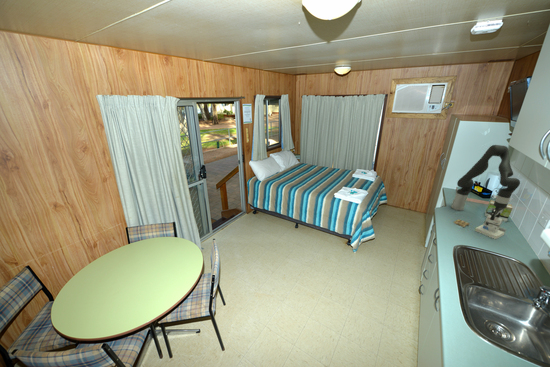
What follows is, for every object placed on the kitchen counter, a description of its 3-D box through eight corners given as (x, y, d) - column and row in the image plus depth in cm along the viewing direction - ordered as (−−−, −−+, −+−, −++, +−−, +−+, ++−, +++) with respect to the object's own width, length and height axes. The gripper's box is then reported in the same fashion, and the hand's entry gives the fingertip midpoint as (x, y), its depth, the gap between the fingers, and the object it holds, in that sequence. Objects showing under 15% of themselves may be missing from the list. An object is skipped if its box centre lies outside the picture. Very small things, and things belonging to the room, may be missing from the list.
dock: (474, 230, 187) (476, 225, 185) (483, 226, 192) (485, 221, 190) (495, 239, 175) (497, 233, 173) (503, 234, 181) (506, 229, 179)
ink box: (482, 228, 185) (486, 216, 181) (485, 226, 187) (489, 214, 183) (495, 233, 178) (500, 220, 174) (497, 231, 180) (503, 219, 176)
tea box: (484, 216, 208) (490, 203, 203) (484, 212, 215) (490, 199, 209) (506, 222, 198) (512, 208, 193) (506, 218, 205) (512, 204, 200)
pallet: (453, 223, 199) (454, 221, 198) (458, 220, 202) (459, 219, 201) (463, 227, 192) (464, 225, 191) (468, 225, 195) (469, 223, 194)
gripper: (500, 197, 179) (492, 214, 185) (491, 201, 173) (484, 218, 179) (512, 201, 172) (504, 218, 178) (503, 205, 167) (495, 223, 173)
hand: (494, 218), depth 179 cm, fingers open, 8 cm apart
